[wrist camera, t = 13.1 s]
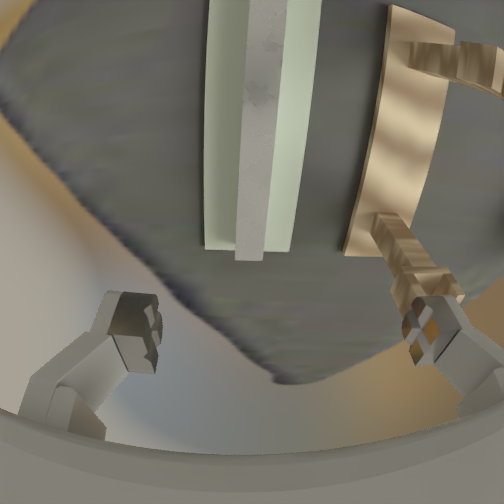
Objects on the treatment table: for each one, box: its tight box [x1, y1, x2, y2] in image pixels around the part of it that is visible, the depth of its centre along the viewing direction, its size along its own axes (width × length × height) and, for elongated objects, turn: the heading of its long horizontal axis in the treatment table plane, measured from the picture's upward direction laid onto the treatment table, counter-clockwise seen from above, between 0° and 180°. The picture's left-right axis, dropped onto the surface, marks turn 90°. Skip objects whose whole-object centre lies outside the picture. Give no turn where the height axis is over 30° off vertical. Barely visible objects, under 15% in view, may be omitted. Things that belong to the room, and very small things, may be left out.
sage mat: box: [204, 0, 322, 252], centre depth 28 cm, size 30×10×1 cm, turn 176°
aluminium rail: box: [235, 0, 288, 261], centre depth 27 cm, size 28×3×3 cm, turn 176°
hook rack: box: [342, 5, 504, 319], centre depth 23 cm, size 30×8×15 cm, turn 176°
